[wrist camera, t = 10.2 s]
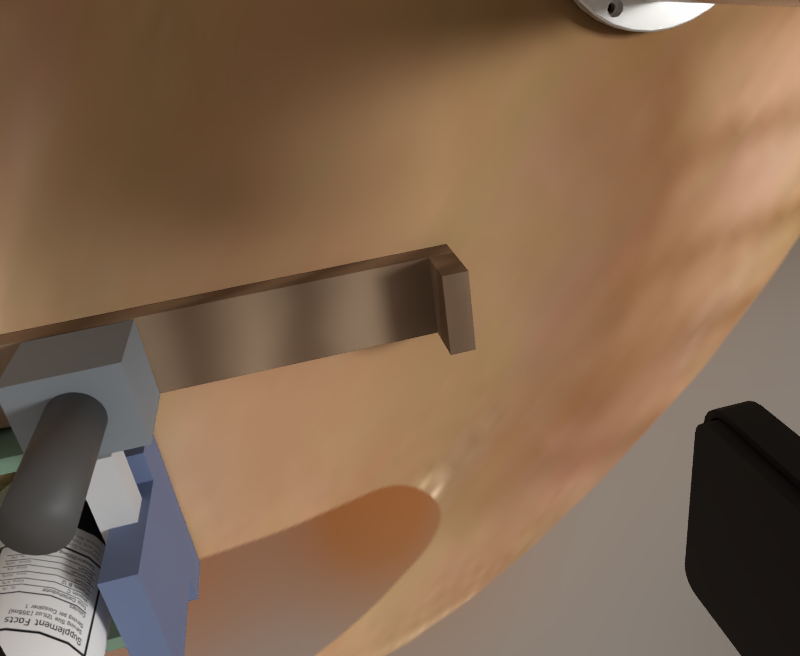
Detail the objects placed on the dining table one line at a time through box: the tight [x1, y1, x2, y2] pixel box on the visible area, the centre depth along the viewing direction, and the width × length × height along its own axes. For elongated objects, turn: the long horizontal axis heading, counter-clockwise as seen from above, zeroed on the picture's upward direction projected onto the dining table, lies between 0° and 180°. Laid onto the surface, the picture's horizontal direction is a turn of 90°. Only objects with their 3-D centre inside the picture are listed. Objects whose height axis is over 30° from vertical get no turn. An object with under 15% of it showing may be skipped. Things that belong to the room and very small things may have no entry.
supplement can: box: [0, 483, 112, 656], centre depth 39 cm, size 8×8×15 cm
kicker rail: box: [0, 244, 476, 428], centre depth 40 cm, size 30×5×4 cm, turn 98°
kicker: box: [0, 320, 200, 656], centre depth 38 cm, size 6×20×14 cm, turn 8°
